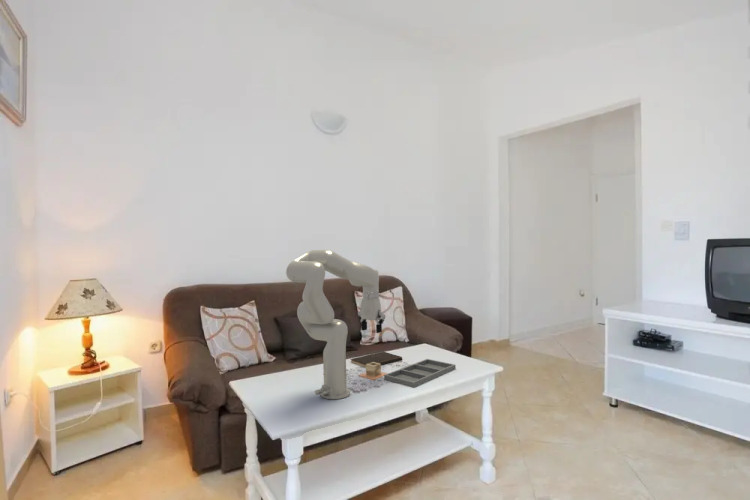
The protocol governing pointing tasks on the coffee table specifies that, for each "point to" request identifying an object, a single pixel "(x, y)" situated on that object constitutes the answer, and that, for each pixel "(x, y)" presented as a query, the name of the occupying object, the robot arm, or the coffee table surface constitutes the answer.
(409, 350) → the coffee table surface
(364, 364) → the hardcover book
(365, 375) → the terracotta tile
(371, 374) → the birch cube
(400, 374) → the grey organiser
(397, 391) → the coffee table surface
